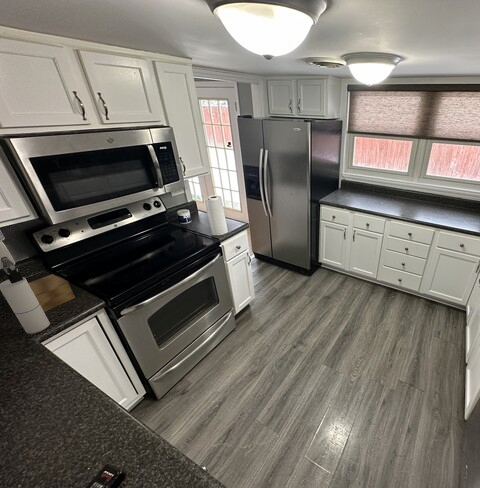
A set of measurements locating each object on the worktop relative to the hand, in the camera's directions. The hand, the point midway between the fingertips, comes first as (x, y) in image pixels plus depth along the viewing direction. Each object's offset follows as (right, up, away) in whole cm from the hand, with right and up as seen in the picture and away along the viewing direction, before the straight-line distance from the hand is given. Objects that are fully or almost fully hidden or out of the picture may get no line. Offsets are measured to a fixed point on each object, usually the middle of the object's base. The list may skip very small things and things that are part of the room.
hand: (11, 278), depth 100 cm
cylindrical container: (-1, -24, +11) cm, 27 cm away
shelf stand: (-15, -15, +29) cm, 36 cm away
